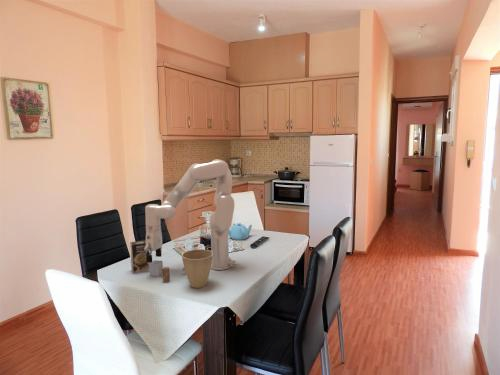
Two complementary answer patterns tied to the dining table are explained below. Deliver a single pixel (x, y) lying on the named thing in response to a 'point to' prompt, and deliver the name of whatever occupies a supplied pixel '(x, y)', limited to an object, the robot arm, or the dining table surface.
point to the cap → (155, 268)
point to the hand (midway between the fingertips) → (154, 259)
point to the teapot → (239, 232)
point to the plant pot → (197, 266)
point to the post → (165, 274)
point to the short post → (184, 271)
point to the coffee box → (138, 257)
